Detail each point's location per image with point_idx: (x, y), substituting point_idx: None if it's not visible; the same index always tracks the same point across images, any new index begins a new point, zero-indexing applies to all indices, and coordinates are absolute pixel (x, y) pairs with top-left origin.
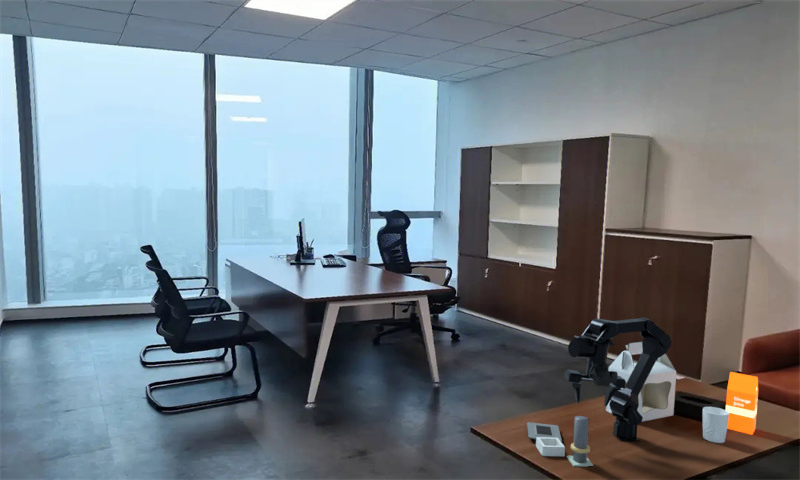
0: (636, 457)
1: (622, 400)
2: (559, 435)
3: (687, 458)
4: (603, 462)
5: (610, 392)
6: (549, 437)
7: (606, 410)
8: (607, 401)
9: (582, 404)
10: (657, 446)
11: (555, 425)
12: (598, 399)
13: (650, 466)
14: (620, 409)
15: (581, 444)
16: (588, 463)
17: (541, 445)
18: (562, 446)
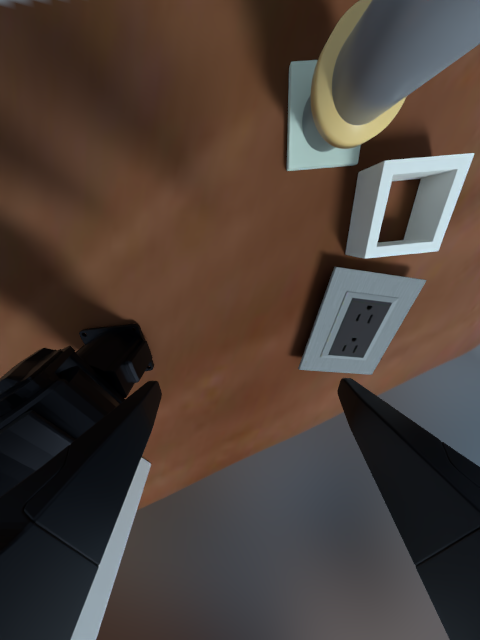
0: (96, 198)
1: (23, 459)
2: (325, 306)
3: None
4: (232, 127)
5: (23, 526)
6: (392, 255)
7: (149, 464)
8: (128, 408)
9: (195, 477)
10: (22, 303)
11: (306, 368)
12: (158, 498)
13: (40, 101)
14: (75, 399)
15: None
16: (306, 79)
17: (462, 176)
18: (393, 164)
